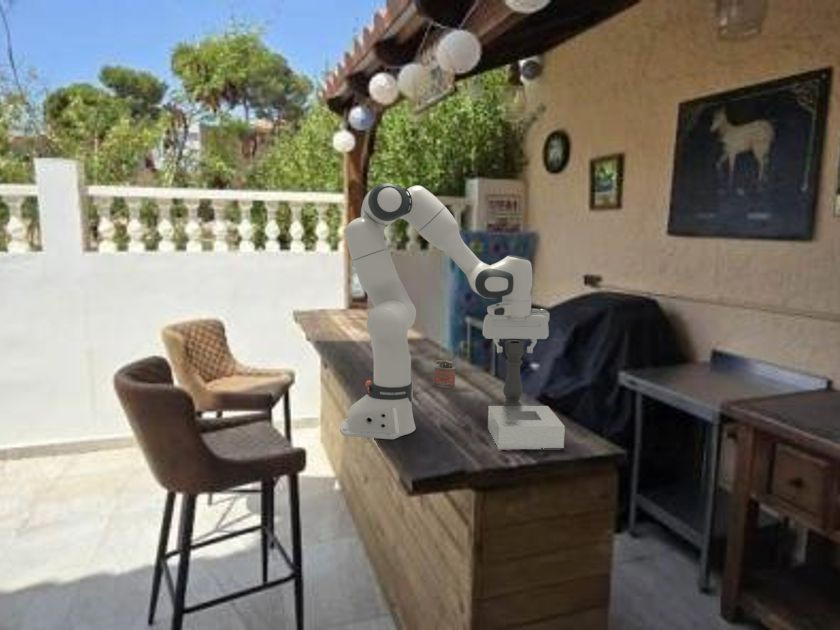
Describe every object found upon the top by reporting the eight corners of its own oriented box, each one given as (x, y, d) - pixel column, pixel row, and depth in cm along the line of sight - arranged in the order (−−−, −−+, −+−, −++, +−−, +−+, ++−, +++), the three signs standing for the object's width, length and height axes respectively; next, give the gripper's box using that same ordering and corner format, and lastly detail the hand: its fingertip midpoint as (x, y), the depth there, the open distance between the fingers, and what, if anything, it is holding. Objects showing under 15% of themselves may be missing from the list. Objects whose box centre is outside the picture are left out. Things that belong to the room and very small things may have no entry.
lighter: (455, 386, 226) (456, 360, 225) (454, 388, 223) (454, 362, 222) (435, 384, 229) (435, 358, 227) (433, 386, 225) (433, 360, 224)
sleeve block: (498, 450, 163) (499, 426, 162) (487, 428, 181) (488, 405, 180) (563, 450, 164) (564, 426, 163) (546, 428, 182) (547, 405, 181)
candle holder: (497, 419, 190) (500, 341, 186) (510, 415, 194) (513, 339, 190) (513, 424, 185) (516, 344, 181) (525, 419, 189) (529, 342, 185)
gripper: (547, 307, 187) (545, 350, 190) (482, 306, 186) (480, 350, 189) (552, 310, 181) (550, 355, 183) (485, 309, 180) (484, 354, 182)
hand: (514, 352), depth 186 cm, fingers open, 8 cm apart
